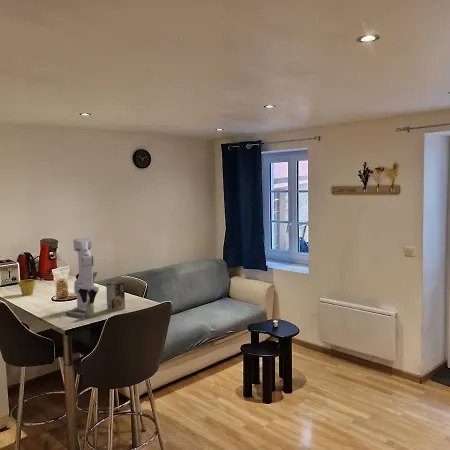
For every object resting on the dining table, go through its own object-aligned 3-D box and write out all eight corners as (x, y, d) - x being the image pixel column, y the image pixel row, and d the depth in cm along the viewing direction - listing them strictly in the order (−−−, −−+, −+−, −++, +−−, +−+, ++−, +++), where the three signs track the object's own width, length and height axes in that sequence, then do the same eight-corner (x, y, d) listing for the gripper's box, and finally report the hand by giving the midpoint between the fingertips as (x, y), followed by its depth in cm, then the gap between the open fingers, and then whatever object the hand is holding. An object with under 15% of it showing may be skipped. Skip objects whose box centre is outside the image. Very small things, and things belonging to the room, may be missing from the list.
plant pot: (24, 297, 295) (23, 283, 294) (16, 295, 301) (15, 281, 301) (38, 294, 303) (38, 280, 303) (30, 292, 310) (30, 278, 309)
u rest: (77, 311, 257) (77, 308, 257) (92, 314, 251) (91, 311, 251) (66, 315, 250) (66, 311, 250) (81, 317, 244) (81, 314, 244)
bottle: (90, 315, 250) (89, 298, 249) (95, 316, 247) (95, 299, 247) (84, 317, 246) (83, 299, 245) (89, 318, 244) (89, 300, 243)
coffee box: (120, 306, 269) (119, 280, 268) (125, 308, 264) (124, 282, 263) (106, 309, 263) (105, 282, 262) (111, 311, 258) (110, 284, 257)
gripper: (72, 278, 236) (73, 302, 237) (91, 280, 229) (92, 306, 230) (82, 276, 242) (83, 300, 243) (101, 278, 235) (102, 303, 236)
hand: (88, 302), depth 237 cm, fingers open, 5 cm apart
